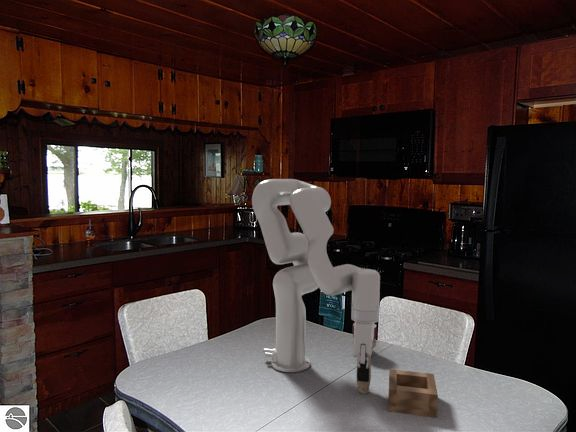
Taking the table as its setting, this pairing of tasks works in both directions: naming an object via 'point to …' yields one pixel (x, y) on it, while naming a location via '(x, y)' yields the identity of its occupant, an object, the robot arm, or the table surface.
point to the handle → (364, 386)
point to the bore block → (412, 393)
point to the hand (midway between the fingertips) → (363, 376)
